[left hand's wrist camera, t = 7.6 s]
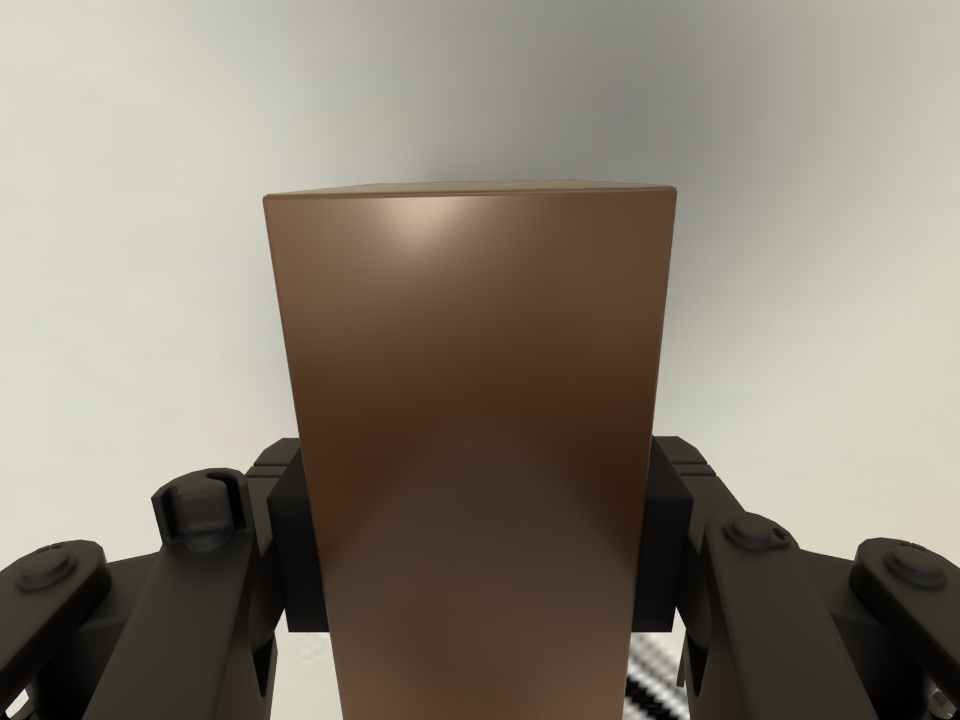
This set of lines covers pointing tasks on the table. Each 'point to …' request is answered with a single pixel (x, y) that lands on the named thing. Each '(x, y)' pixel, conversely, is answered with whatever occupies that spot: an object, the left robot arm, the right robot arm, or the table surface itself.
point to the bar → (476, 434)
